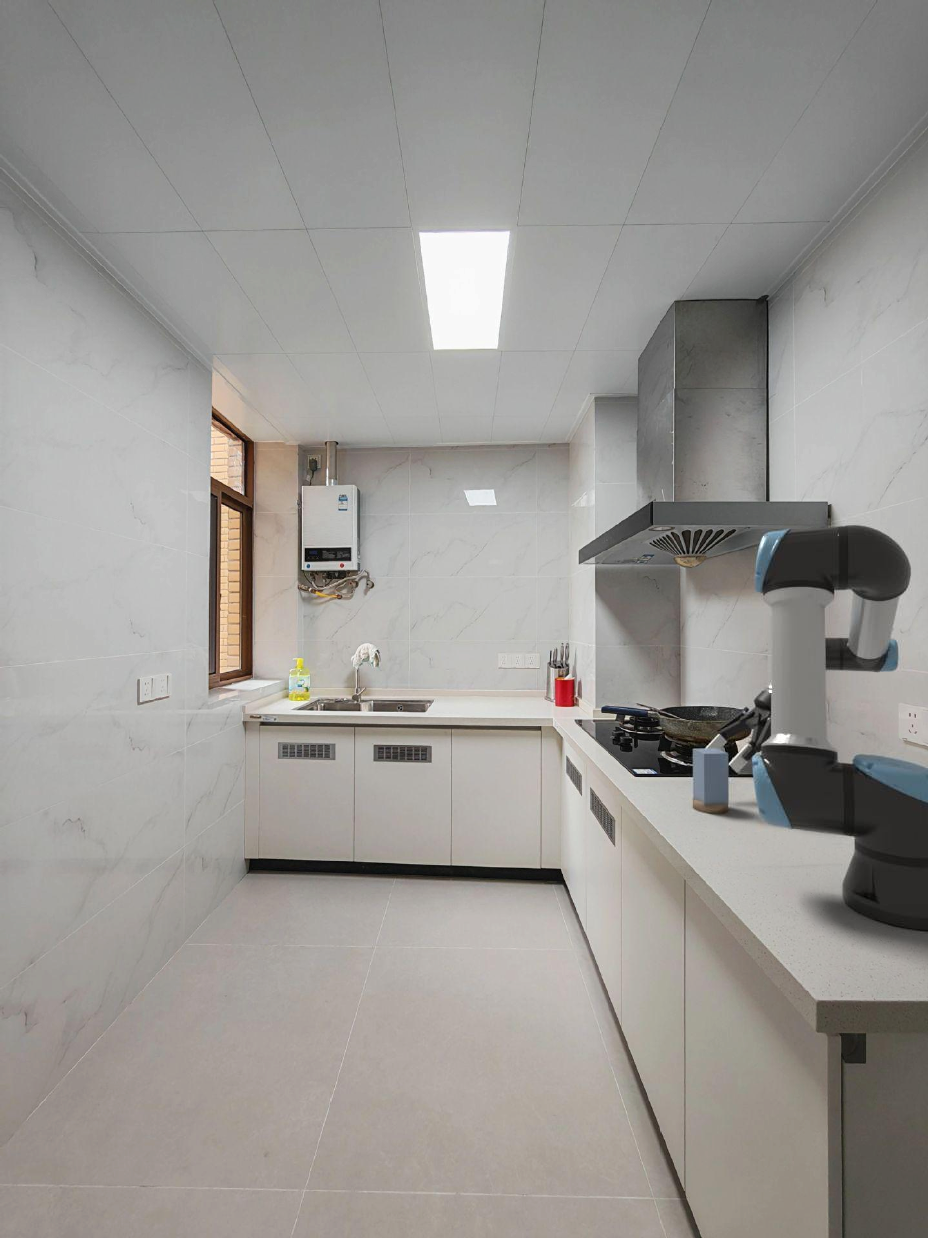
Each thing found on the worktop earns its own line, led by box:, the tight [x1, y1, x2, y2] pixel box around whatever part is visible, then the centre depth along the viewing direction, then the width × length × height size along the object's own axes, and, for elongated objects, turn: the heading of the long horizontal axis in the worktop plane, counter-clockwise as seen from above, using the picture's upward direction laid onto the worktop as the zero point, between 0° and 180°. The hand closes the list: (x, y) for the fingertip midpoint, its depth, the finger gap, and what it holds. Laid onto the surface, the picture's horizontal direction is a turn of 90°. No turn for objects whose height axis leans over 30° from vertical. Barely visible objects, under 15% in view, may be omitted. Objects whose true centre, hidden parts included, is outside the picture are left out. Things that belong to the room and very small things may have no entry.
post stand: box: [692, 797, 729, 815], centre depth 151 cm, size 8×8×8 cm
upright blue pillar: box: [692, 747, 730, 805], centre depth 151 cm, size 6×6×12 cm
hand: (718, 762), depth 152 cm, fingers open, 13 cm apart
